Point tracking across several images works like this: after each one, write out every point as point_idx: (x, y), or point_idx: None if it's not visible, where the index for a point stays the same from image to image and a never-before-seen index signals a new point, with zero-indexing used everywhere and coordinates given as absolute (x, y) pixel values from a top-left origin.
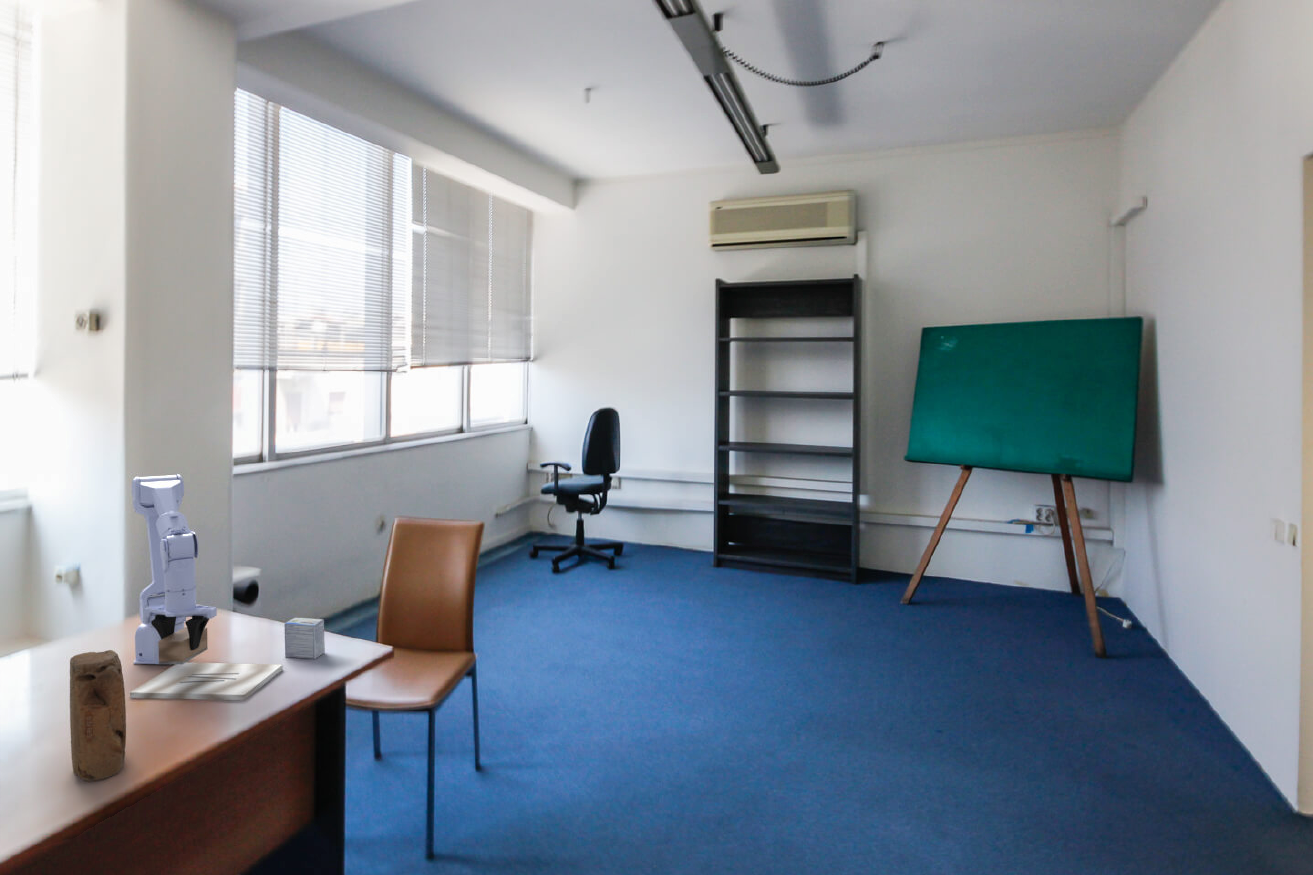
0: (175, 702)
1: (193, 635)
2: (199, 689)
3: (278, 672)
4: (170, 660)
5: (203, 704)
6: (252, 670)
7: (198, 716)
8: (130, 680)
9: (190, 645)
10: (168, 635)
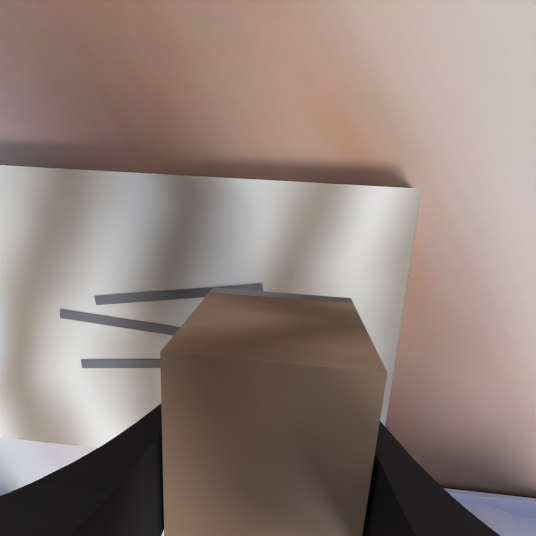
0: (202, 143)
1: (100, 448)
2: (141, 215)
3: None
4: (279, 298)
5: (84, 125)
6: (51, 389)
7: (33, 7)
8: (500, 355)
9: None
10: (373, 505)
